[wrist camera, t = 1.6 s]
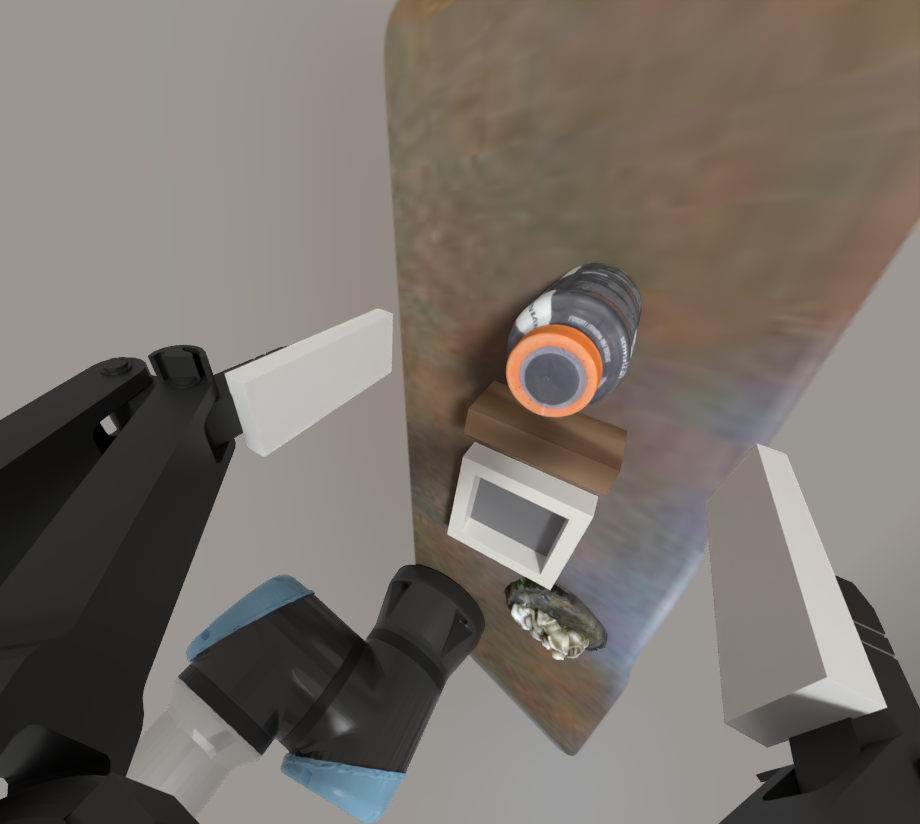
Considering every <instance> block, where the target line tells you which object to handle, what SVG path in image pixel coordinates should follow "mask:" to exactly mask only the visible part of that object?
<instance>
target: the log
mask: <svg viewBox="0 0 920 824" xmlns="http://www.w3.org/2000/svg"><path fill="white" fill-rule="evenodd" d="M506 593H507V594H506V597H507V600H508V604H509V609H510V610H511V615H512V616H513V618H514V620H515V621H516V622H517V623H518V624H519V625H520V627H521V628H522V629H525V630H530V633H531V635H532V637H533V638H534V639H536V640H539V641H542V644H543V646H544V647H546V648H547V649H548V650H550V651H551V654H552V657H553V658H555V659H556V660H559V659H562V660H564V657H567V658H577V657H578V656H579V654H581V653H582V652H583V651H584V650H587V651H593V650H596V651H597V650H598V648H599V649H602V648H604V647H605V645H606V642H607V634H606V631H605V629H604V627H603V626H602V624H601V623H600V622H599V620H598V619H597V618H596V617H595V616H594V614H593V613H592V612H591V611H590V610H589V609H588V608H587V607H586V606H585V605H584V604H583V602H582V601H581V600H580V599H579V598H578V597H577V596H575V595H574V594H573V593H571V592H570V591H569V590H567V589H566V588H564V587H562V586H560V585H558V584H556V583H554V585H553V586H552V588H551V590H549V589H547V588H545V587H543V586H541V585H540V584H538V583H536V582H534V581H532V580H530V579H529V578H527V577H525V578H520V579H519V580H518V581H516V582H511V586H509V587H507V588H506Z"/></svg>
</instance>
